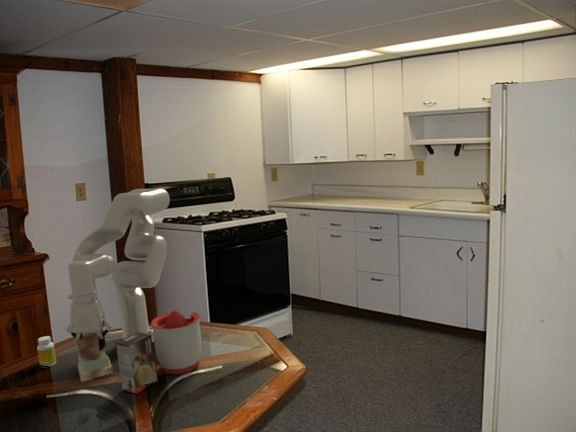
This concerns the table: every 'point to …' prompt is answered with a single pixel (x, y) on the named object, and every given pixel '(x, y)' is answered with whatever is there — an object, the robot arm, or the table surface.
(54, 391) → the table surface
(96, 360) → the sage top block
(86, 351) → the walnut cube
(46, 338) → the supplement bottle
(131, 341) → the coffee box
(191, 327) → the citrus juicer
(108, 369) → the birch base block
